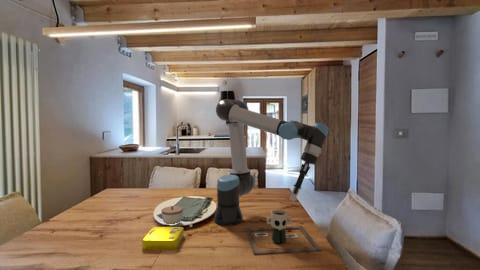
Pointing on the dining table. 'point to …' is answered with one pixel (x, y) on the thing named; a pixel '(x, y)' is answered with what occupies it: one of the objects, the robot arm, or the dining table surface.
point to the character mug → (279, 225)
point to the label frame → (314, 244)
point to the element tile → (163, 238)
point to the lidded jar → (172, 214)
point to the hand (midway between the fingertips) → (291, 200)
